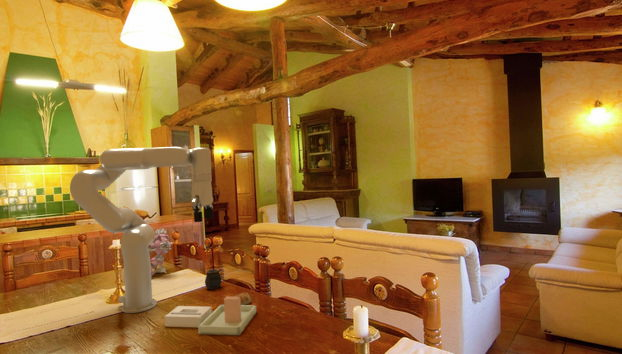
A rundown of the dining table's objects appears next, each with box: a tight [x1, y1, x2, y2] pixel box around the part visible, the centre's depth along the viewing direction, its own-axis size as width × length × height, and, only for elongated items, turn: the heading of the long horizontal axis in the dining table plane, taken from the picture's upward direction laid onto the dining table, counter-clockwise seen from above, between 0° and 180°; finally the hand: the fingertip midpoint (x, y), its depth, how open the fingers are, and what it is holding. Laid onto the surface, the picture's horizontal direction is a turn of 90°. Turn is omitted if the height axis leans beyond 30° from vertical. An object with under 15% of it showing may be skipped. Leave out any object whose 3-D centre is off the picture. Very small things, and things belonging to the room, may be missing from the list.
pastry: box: [233, 292, 252, 305], centre depth 137 cm, size 9×7×4 cm
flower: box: [148, 227, 174, 277], centre depth 180 cm, size 20×22×25 cm
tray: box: [197, 304, 257, 336], centre depth 120 cm, size 14×18×2 cm
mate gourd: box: [204, 268, 222, 290], centre depth 157 cm, size 7×8×10 cm
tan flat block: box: [223, 295, 241, 322], centre depth 120 cm, size 5×2×8 cm, turn 82°
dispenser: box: [164, 305, 213, 328], centre depth 123 cm, size 13×9×4 cm
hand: (203, 220), depth 141 cm, fingers open, 9 cm apart
